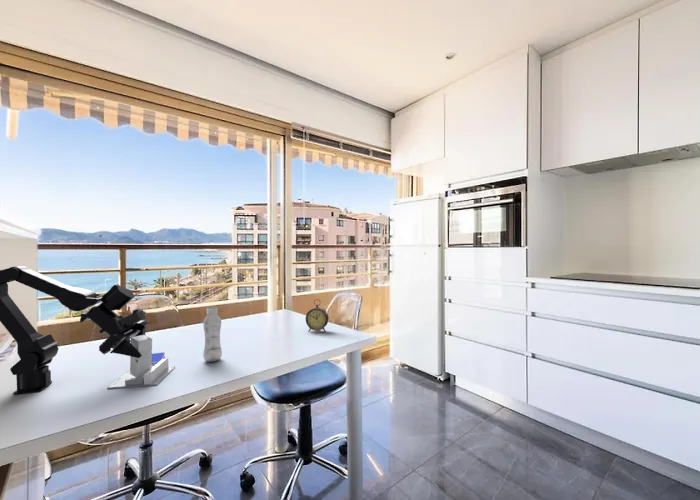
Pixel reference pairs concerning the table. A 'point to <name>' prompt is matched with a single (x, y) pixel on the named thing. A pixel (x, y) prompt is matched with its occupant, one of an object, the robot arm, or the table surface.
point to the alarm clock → (317, 318)
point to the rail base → (127, 376)
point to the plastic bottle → (212, 335)
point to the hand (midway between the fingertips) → (145, 352)
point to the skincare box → (144, 362)
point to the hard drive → (157, 358)
